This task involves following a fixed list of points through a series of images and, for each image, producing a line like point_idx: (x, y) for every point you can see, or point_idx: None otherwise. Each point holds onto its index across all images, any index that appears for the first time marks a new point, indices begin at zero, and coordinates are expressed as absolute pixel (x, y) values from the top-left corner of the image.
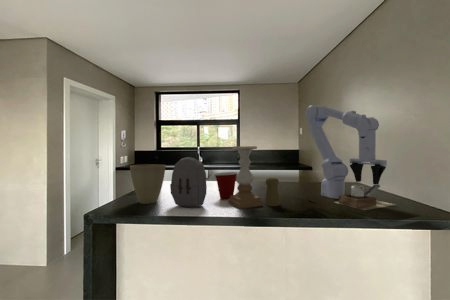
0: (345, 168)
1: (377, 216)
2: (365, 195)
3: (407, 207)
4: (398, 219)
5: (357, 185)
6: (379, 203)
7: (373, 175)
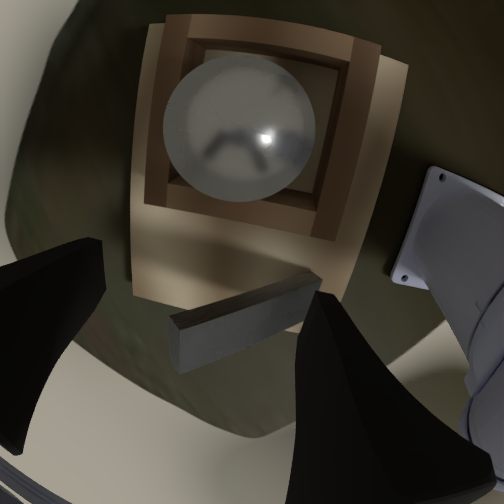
0: (493, 454)
1: (98, 42)
2: (274, 284)
3: (127, 320)
4: (41, 86)
5: (268, 190)
6: (188, 257)
7: (20, 274)
